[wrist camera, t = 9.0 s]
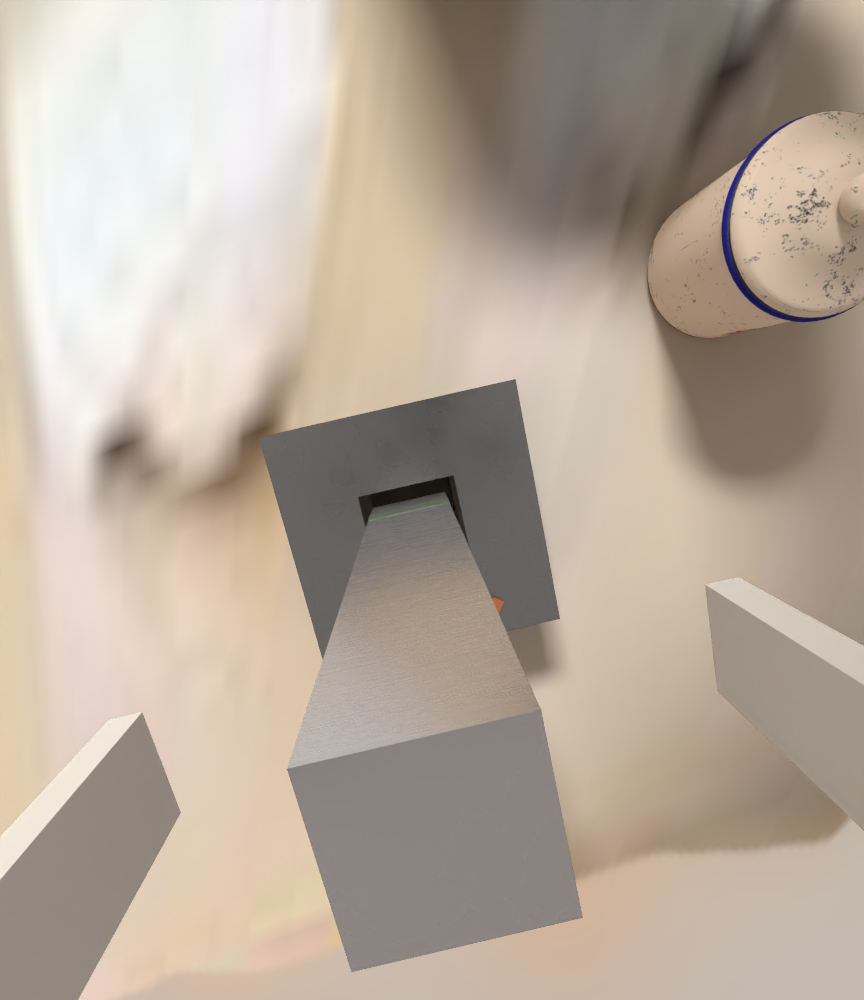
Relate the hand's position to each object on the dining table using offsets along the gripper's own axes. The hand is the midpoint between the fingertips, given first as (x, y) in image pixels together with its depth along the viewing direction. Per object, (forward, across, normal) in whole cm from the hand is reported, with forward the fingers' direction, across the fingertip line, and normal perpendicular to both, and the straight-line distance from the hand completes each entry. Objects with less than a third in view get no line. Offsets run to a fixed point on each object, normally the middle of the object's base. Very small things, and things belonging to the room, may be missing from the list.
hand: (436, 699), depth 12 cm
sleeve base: (+23, 0, -1) cm, 23 cm away
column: (+16, 0, -1) cm, 16 cm away
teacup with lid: (+24, +23, +11) cm, 35 cm away
